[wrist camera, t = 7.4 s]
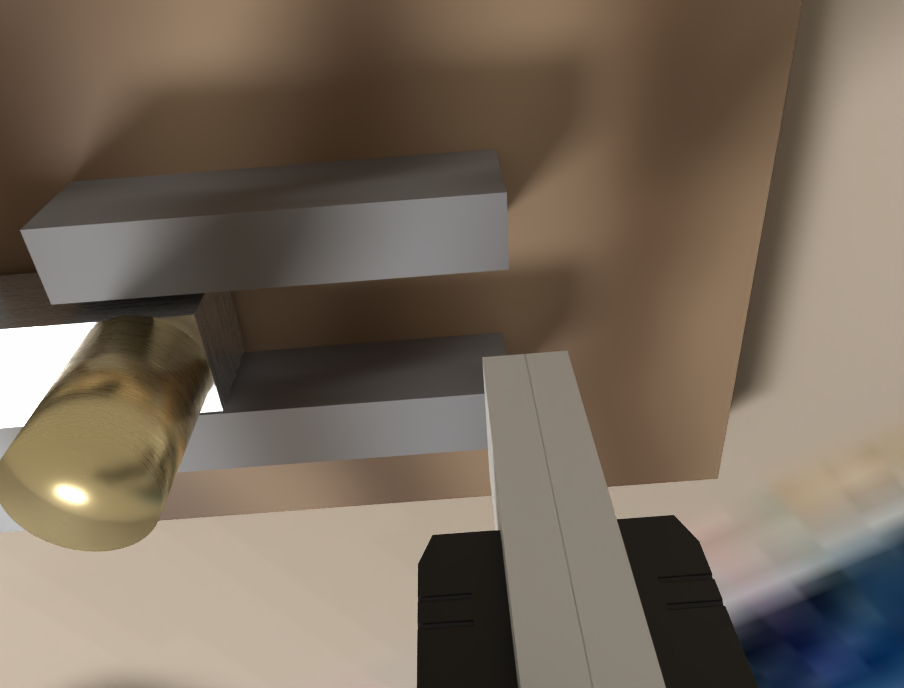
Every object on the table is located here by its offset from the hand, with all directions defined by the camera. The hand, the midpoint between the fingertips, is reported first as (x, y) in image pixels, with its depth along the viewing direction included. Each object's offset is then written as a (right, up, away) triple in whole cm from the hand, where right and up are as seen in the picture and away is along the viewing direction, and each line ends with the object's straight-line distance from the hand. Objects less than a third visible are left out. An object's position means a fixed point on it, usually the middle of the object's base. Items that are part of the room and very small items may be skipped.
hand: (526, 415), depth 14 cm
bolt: (-12, +2, +4) cm, 13 cm away
